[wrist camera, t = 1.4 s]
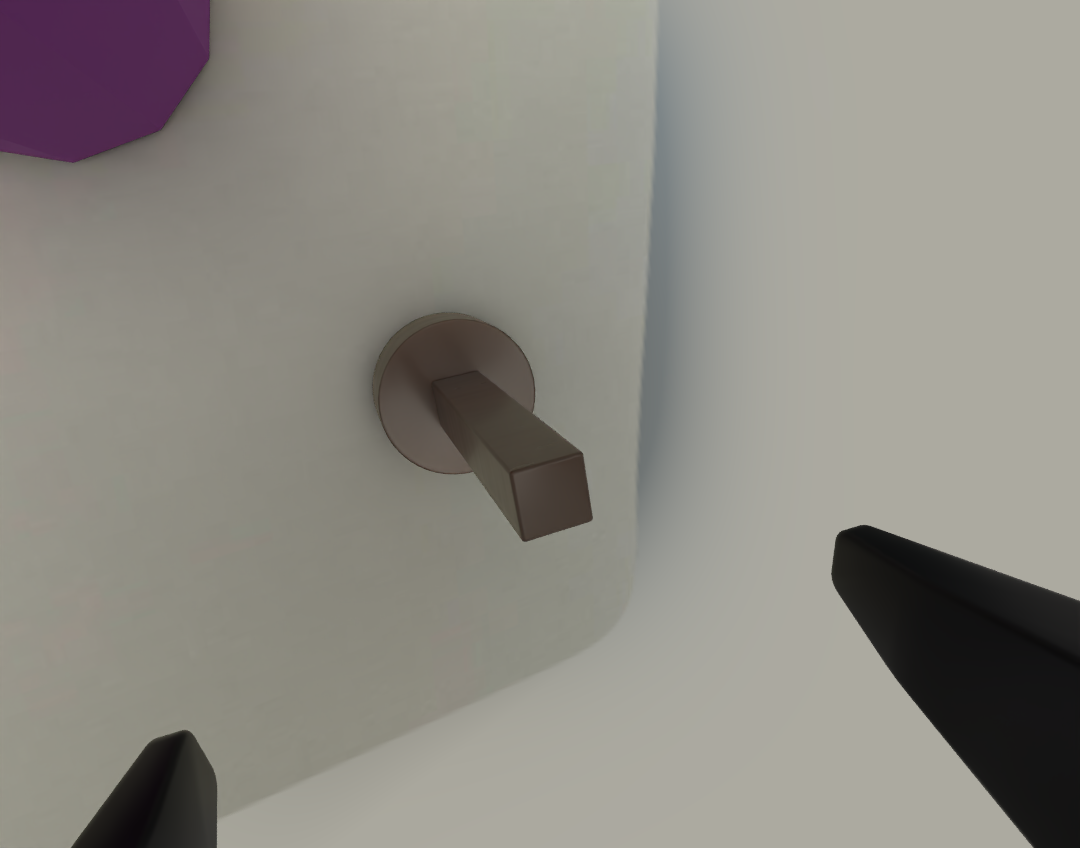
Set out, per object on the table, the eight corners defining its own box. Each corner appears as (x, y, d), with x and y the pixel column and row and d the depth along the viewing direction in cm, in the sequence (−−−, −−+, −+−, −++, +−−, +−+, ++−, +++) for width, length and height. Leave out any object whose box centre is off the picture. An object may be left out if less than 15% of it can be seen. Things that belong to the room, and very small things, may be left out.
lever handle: (529, 435, 25) (678, 569, 15) (392, 473, 24) (455, 647, 14) (504, 298, 23) (653, 345, 13) (355, 330, 22) (397, 408, 12)
